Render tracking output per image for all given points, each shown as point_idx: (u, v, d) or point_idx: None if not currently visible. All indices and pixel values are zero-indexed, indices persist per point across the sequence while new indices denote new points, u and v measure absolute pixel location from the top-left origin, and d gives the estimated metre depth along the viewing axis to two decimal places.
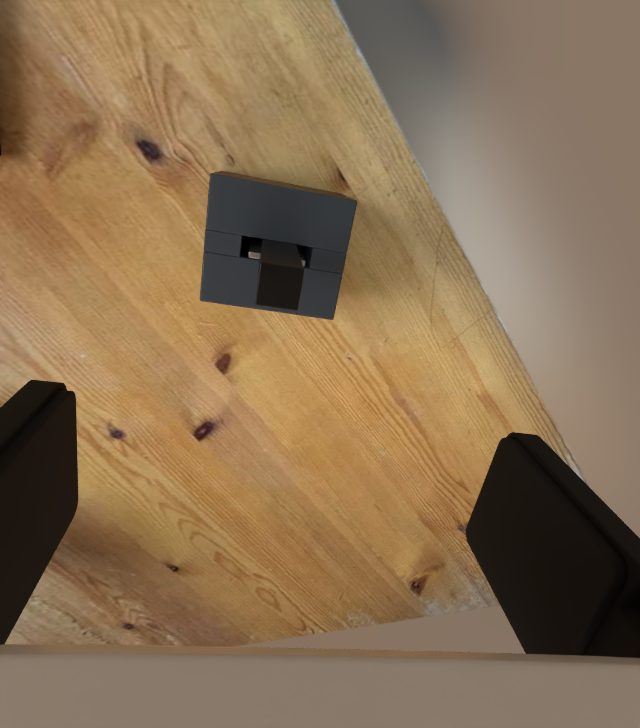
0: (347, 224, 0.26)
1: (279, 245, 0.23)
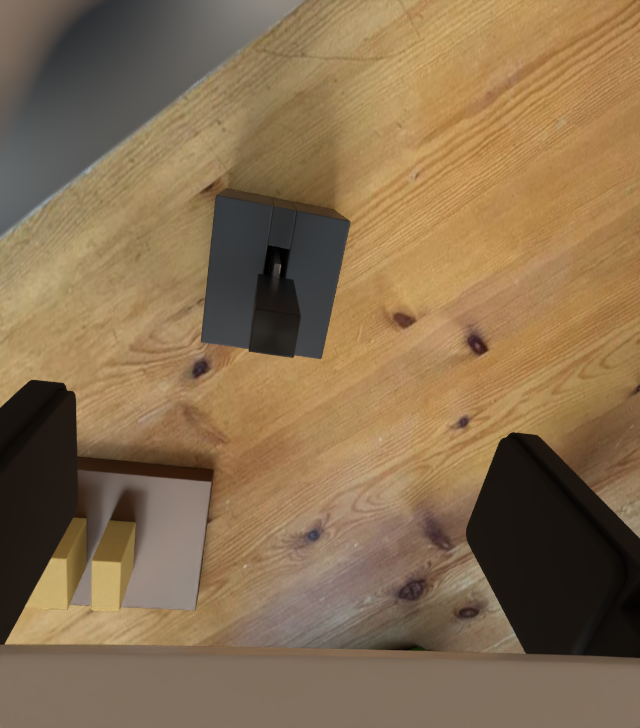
0: (241, 205, 0.23)
1: None
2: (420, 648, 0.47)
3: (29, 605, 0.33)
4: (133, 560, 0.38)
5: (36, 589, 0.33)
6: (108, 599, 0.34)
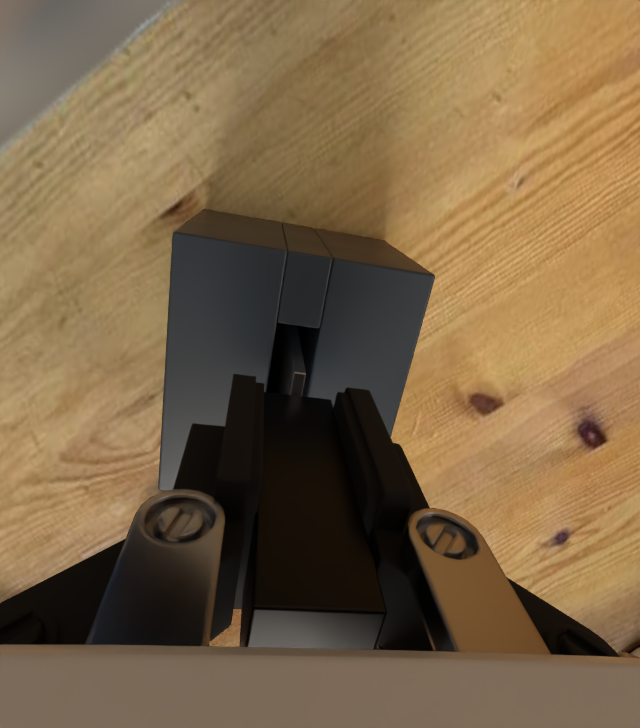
0: (225, 251, 0.12)
1: None
2: None
3: None
4: None
5: None
6: None
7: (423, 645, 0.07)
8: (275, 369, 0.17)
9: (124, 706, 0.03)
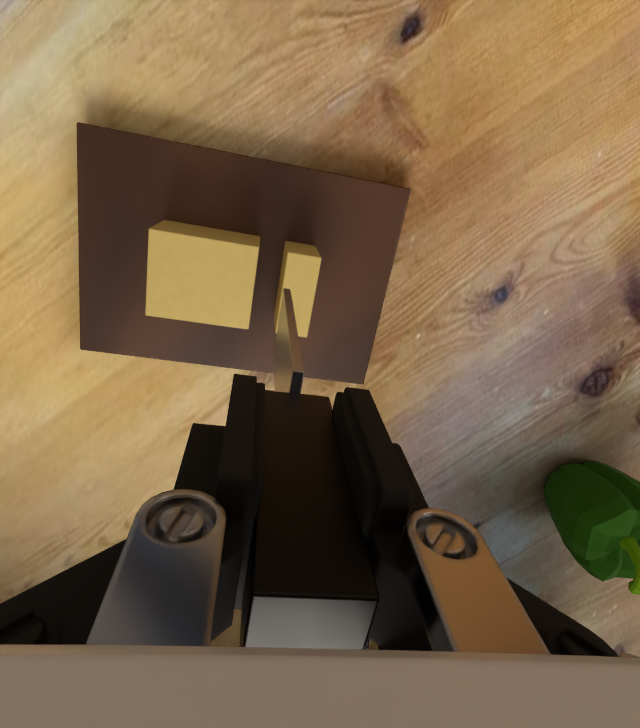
0: None
1: None
2: None
3: (205, 319, 0.27)
4: None
5: (217, 294, 0.27)
6: (298, 315, 0.28)
7: (422, 645, 0.07)
8: (275, 367, 0.18)
9: (124, 705, 0.03)
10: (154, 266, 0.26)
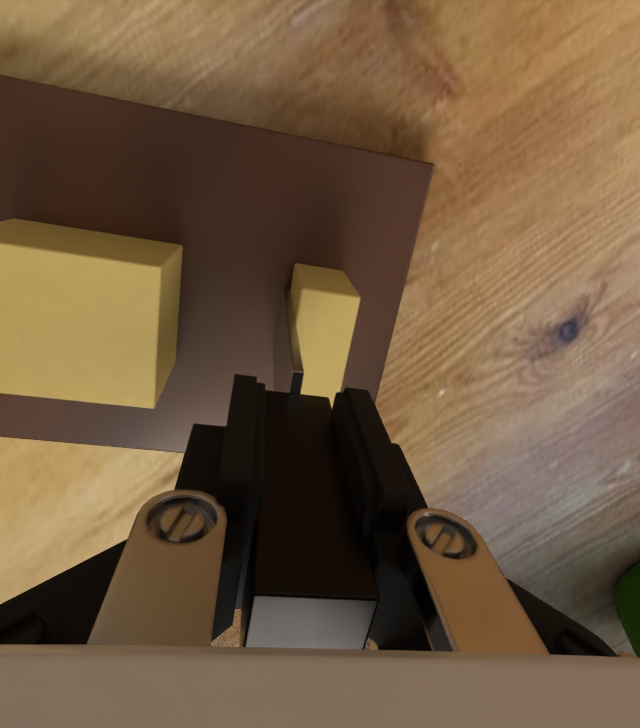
0: None
1: None
2: None
3: (75, 393, 0.15)
4: None
5: (91, 350, 0.15)
6: (318, 393, 0.16)
7: (421, 645, 0.07)
8: (274, 367, 0.18)
9: (124, 706, 0.03)
10: None
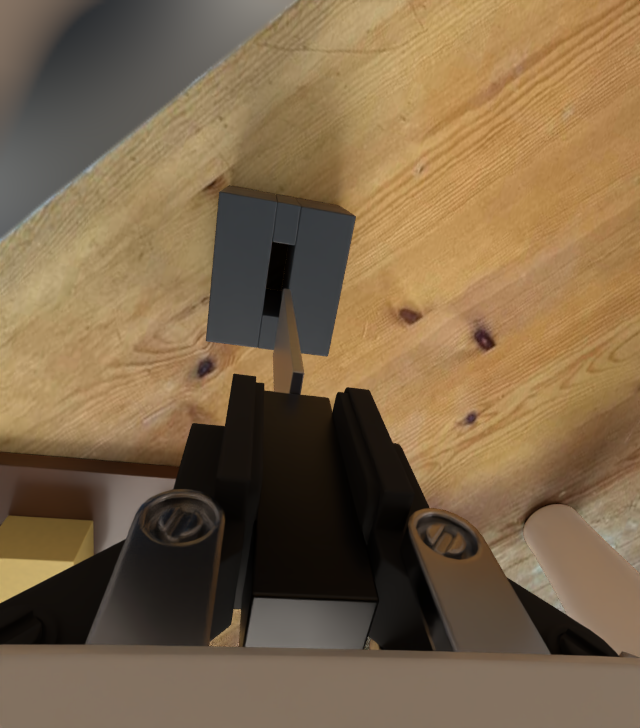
0: (245, 202, 0.23)
1: None
2: None
3: None
4: None
5: None
6: None
7: (423, 645, 0.07)
8: (275, 367, 0.18)
9: (124, 706, 0.03)
10: None
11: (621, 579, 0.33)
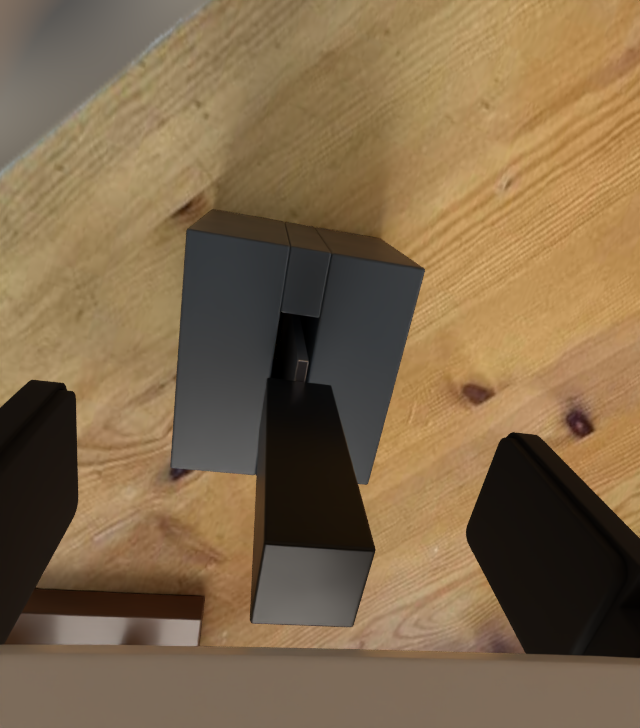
0: (233, 247, 0.13)
1: (261, 429, 0.12)
2: None
3: None
4: None
5: None
6: None
7: None
8: (280, 362, 0.19)
9: (124, 706, 0.03)
10: None
11: None
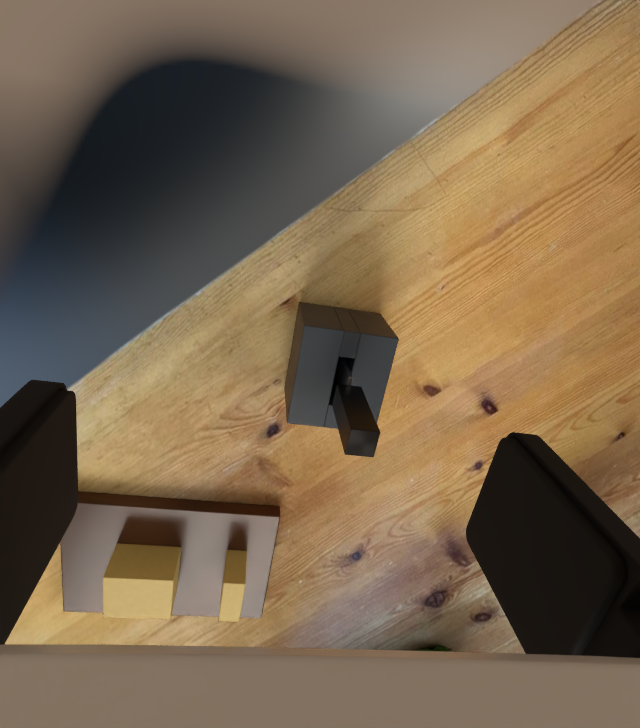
0: (322, 331, 0.33)
1: (336, 403, 0.32)
2: (442, 647, 0.57)
3: (142, 616, 0.43)
4: None
5: (148, 604, 0.42)
6: (232, 611, 0.44)
7: None
8: None
9: (124, 706, 0.03)
10: (107, 594, 0.41)
11: None
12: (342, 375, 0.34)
